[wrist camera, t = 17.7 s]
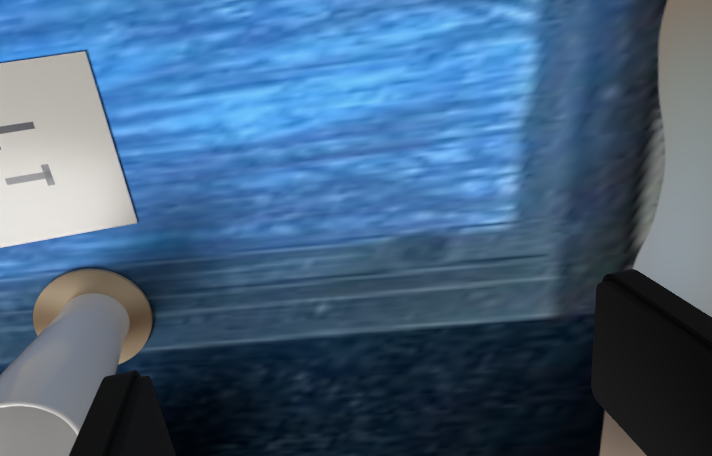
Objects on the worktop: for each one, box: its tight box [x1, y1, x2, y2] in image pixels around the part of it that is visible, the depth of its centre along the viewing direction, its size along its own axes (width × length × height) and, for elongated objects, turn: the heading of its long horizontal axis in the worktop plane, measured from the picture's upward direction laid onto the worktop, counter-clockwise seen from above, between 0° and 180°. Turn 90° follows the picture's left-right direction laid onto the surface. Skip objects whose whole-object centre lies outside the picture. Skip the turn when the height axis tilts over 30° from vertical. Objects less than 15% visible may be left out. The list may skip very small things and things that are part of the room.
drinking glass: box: [0, 293, 130, 456], centre depth 36 cm, size 7×7×15 cm
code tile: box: [0, 51, 138, 248], centre depth 39 cm, size 13×13×1 cm
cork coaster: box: [33, 268, 153, 364], centre depth 43 cm, size 9×9×1 cm
